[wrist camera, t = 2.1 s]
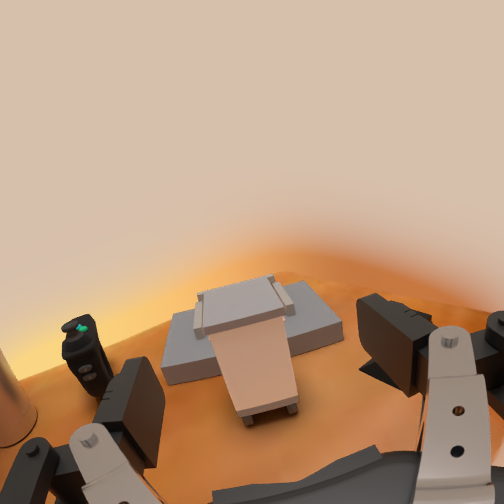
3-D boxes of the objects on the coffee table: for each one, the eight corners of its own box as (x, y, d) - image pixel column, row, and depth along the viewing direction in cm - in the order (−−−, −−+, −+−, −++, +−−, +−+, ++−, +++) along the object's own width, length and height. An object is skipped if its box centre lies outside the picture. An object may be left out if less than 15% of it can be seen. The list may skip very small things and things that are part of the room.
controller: (94, 418, 25) (49, 341, 22) (88, 368, 35) (59, 305, 33) (127, 406, 26) (86, 327, 24) (114, 358, 37) (86, 294, 35)
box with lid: (241, 433, 21) (202, 327, 19) (234, 388, 27) (203, 292, 25) (305, 416, 22) (284, 306, 19) (287, 374, 28) (266, 276, 25)
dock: (168, 385, 30) (152, 348, 28) (178, 328, 43) (168, 298, 42) (343, 339, 31) (339, 300, 30) (306, 295, 45) (301, 264, 43)
